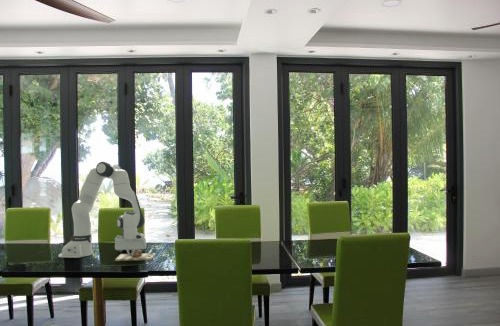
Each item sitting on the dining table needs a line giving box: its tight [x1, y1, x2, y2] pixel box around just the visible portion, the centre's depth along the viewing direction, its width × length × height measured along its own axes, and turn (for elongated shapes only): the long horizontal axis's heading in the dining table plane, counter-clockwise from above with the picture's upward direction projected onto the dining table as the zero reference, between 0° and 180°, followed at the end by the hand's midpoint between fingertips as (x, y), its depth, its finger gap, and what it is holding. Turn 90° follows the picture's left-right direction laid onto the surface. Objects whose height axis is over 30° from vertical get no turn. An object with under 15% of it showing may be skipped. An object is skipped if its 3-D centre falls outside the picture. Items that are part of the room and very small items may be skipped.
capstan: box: [130, 249, 143, 258], centre depth 257 cm, size 13×7×4 cm, turn 20°
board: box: [114, 252, 156, 262], centre depth 260 cm, size 24×14×2 cm, turn 95°
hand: (130, 256), depth 254 cm, fingers closed
